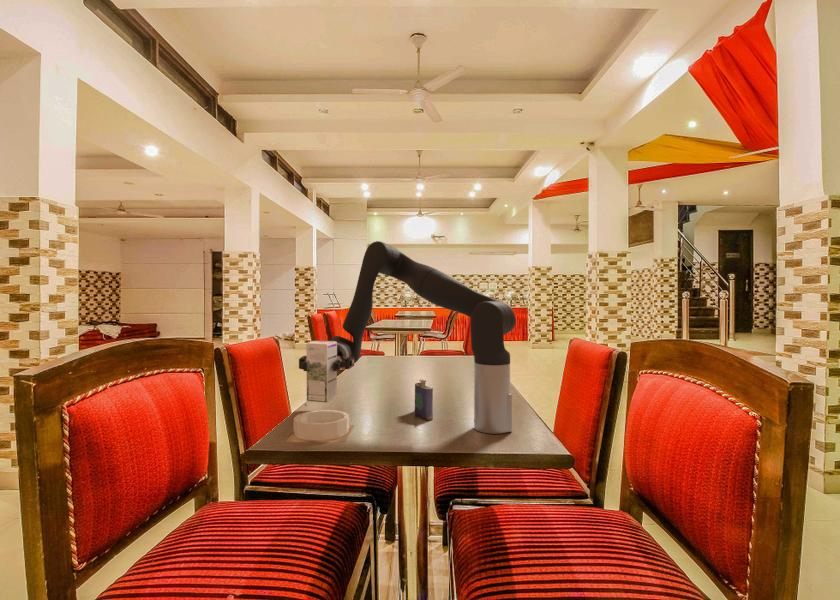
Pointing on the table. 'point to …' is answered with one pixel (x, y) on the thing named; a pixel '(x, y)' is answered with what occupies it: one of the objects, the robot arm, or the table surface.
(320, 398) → the syrup box
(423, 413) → the flask
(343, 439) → the placemat
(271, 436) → the table surface
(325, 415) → the bowl
